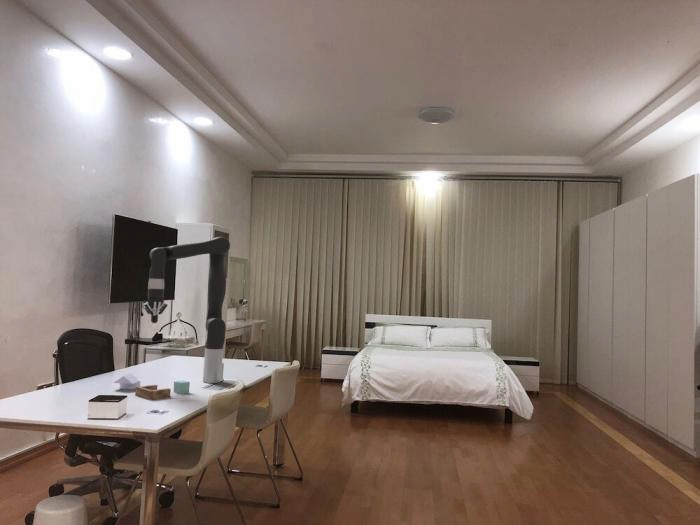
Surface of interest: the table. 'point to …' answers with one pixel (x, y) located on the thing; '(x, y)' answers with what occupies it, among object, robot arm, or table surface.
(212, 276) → the robot arm
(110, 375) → the table surface
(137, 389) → the walnut bay
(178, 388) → the teal block
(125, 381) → the white toy house
